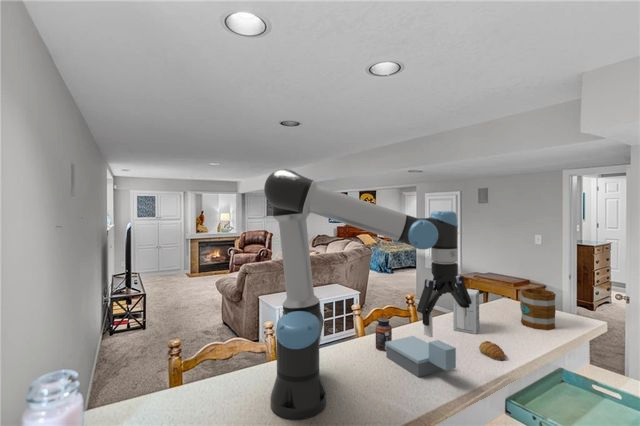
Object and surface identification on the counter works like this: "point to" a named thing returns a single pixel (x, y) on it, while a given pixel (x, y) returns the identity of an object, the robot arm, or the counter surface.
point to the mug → (538, 308)
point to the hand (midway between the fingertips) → (445, 331)
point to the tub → (412, 364)
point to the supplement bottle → (383, 333)
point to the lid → (425, 351)
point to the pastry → (491, 350)
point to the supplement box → (469, 313)
